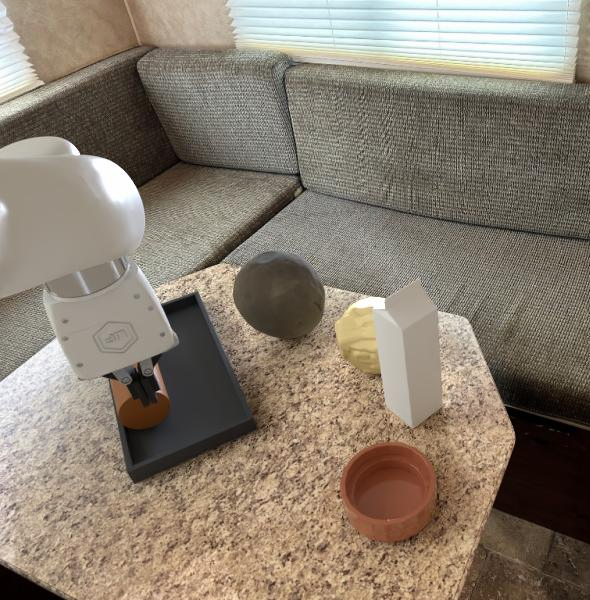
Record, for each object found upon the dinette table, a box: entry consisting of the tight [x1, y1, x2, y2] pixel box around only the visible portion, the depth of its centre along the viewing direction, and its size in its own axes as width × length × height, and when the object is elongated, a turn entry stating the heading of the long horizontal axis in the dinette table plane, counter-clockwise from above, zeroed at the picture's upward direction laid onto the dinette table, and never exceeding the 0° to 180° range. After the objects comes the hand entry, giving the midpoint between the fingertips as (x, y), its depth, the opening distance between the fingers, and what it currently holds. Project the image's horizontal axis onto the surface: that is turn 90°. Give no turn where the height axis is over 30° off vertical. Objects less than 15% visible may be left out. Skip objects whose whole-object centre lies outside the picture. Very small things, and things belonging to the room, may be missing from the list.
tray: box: [107, 290, 259, 485], centre depth 96 cm, size 18×35×3 cm, turn 28°
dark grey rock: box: [232, 249, 326, 340], centre depth 99 cm, size 14×14×15 cm
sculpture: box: [334, 296, 386, 375], centre depth 93 cm, size 12×12×11 cm
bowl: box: [339, 441, 438, 543], centre depth 75 cm, size 12×12×4 cm
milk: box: [372, 278, 444, 430], centre depth 81 cm, size 6×6×22 cm
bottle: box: [110, 362, 171, 429], centre depth 93 cm, size 7×7×18 cm
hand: (149, 397), depth 70 cm, fingers closed
